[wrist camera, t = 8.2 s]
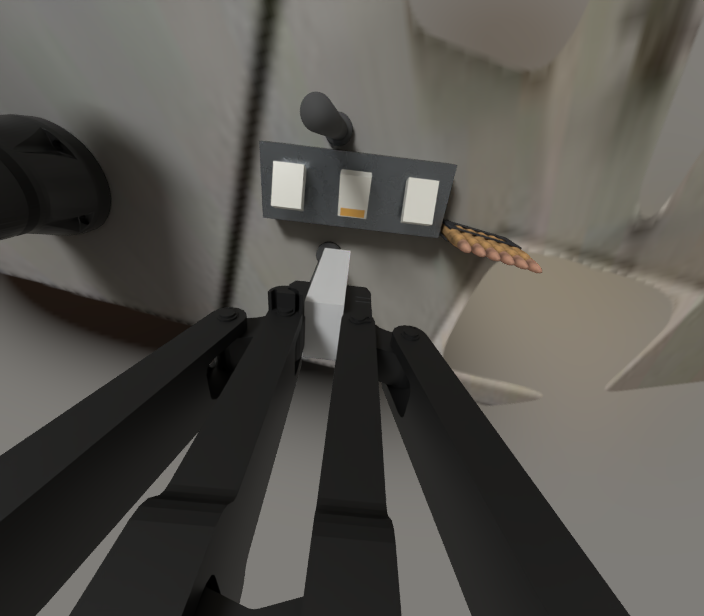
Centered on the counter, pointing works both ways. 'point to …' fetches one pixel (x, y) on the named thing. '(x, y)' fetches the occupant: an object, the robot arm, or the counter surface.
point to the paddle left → (288, 185)
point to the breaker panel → (383, 190)
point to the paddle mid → (354, 193)
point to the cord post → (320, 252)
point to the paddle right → (419, 201)
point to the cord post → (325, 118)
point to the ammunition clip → (487, 245)
